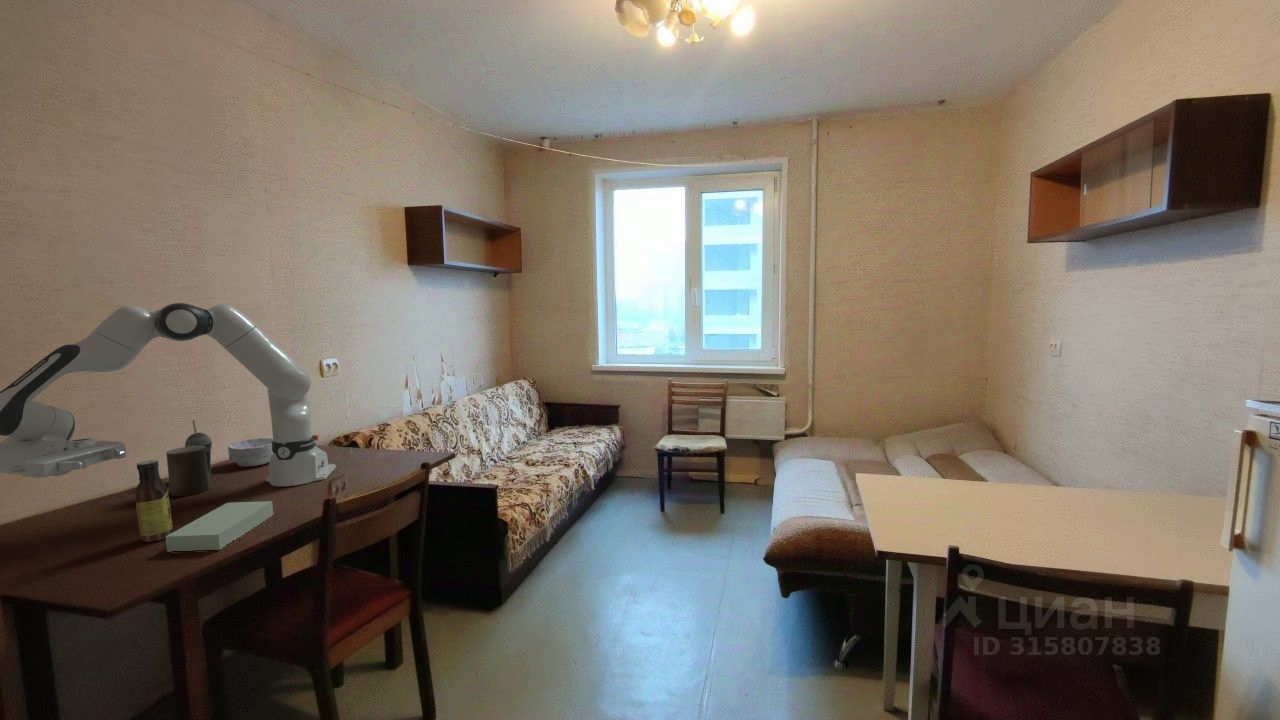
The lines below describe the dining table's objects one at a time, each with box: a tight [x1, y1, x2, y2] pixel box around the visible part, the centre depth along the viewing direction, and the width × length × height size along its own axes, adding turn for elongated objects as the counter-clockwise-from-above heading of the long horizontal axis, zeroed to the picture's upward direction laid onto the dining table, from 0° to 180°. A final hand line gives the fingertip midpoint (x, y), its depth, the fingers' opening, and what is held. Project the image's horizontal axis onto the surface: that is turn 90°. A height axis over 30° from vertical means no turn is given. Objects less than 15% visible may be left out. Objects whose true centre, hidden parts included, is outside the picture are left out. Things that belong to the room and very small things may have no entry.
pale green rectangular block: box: [165, 500, 274, 553], centre depth 142 cm, size 22×12×4 cm, turn 5°
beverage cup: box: [184, 419, 213, 478], centre depth 186 cm, size 7×7×20 cm
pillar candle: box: [165, 444, 210, 497], centre depth 173 cm, size 10×10×15 cm
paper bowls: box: [227, 437, 273, 468], centre depth 203 cm, size 15×15×8 cm
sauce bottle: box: [134, 459, 173, 543], centre depth 138 cm, size 7×6×20 cm
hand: (104, 459), depth 138 cm, fingers open, 8 cm apart
